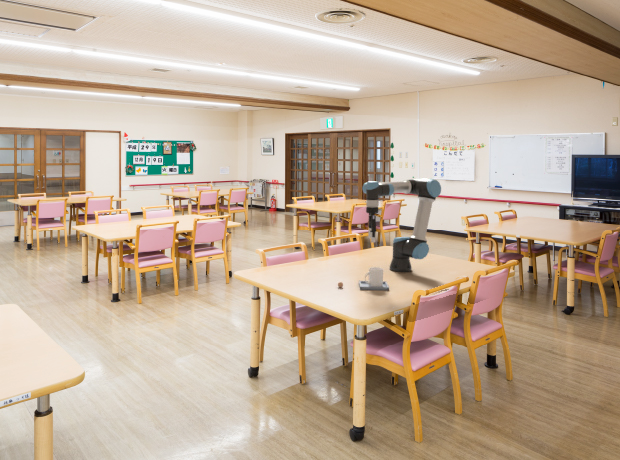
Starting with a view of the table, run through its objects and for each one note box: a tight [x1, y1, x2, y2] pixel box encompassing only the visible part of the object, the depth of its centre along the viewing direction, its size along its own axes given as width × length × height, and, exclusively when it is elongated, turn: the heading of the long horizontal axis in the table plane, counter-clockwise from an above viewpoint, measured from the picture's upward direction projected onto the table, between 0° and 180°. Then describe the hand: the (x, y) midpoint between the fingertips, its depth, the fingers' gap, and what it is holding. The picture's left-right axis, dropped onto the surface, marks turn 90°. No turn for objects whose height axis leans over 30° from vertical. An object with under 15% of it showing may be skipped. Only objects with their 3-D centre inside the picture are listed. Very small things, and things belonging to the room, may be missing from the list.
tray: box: [358, 280, 390, 291], centre depth 294 cm, size 17×14×2 cm
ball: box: [337, 281, 344, 288], centre depth 292 cm, size 3×3×3 cm
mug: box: [364, 266, 384, 287], centre depth 293 cm, size 9×12×11 cm
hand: (371, 240), depth 304 cm, fingers open, 13 cm apart
